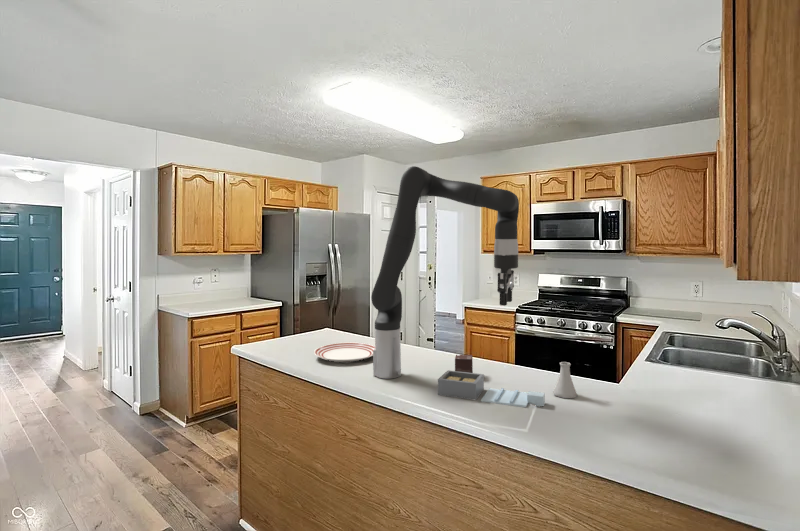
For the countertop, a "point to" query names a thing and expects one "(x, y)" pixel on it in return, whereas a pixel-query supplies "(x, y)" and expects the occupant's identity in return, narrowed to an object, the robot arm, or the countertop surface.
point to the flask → (565, 383)
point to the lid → (514, 397)
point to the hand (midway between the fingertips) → (505, 303)
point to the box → (464, 363)
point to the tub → (461, 385)
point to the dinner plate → (345, 351)
